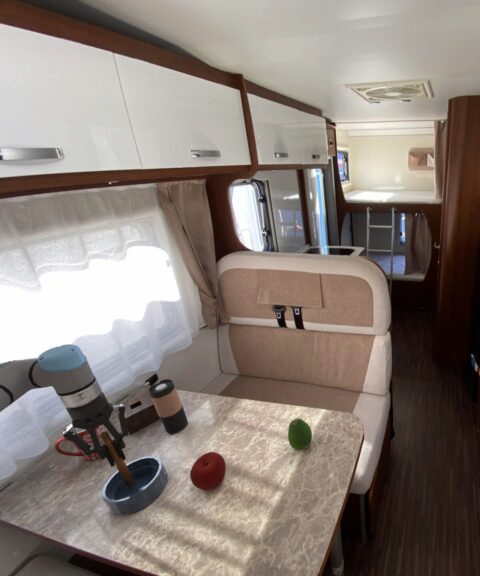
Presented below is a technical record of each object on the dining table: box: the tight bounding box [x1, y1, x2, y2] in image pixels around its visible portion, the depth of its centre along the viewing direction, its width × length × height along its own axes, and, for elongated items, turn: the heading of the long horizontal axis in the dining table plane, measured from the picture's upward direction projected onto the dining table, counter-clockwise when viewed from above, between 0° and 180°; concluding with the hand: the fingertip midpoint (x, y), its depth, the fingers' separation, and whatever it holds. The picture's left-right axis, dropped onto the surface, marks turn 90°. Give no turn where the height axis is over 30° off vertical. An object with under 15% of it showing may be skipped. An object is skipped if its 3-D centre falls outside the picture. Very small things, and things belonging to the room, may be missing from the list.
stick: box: [100, 429, 135, 488], centre depth 90 cm, size 2×2×22 cm
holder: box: [123, 391, 161, 436], centre depth 119 cm, size 10×10×8 cm
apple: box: [189, 451, 227, 491], centre depth 94 cm, size 10×10×10 cm
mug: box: [54, 422, 106, 461], centre depth 104 cm, size 13×9×14 cm
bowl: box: [101, 455, 169, 516], centre depth 93 cm, size 15×15×6 cm
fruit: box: [287, 418, 313, 451], centre depth 104 cm, size 8×8×12 cm
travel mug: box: [147, 378, 189, 435], centre depth 113 cm, size 8×8×20 cm
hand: (118, 460), depth 89 cm, fingers closed on stick, 2 cm apart
